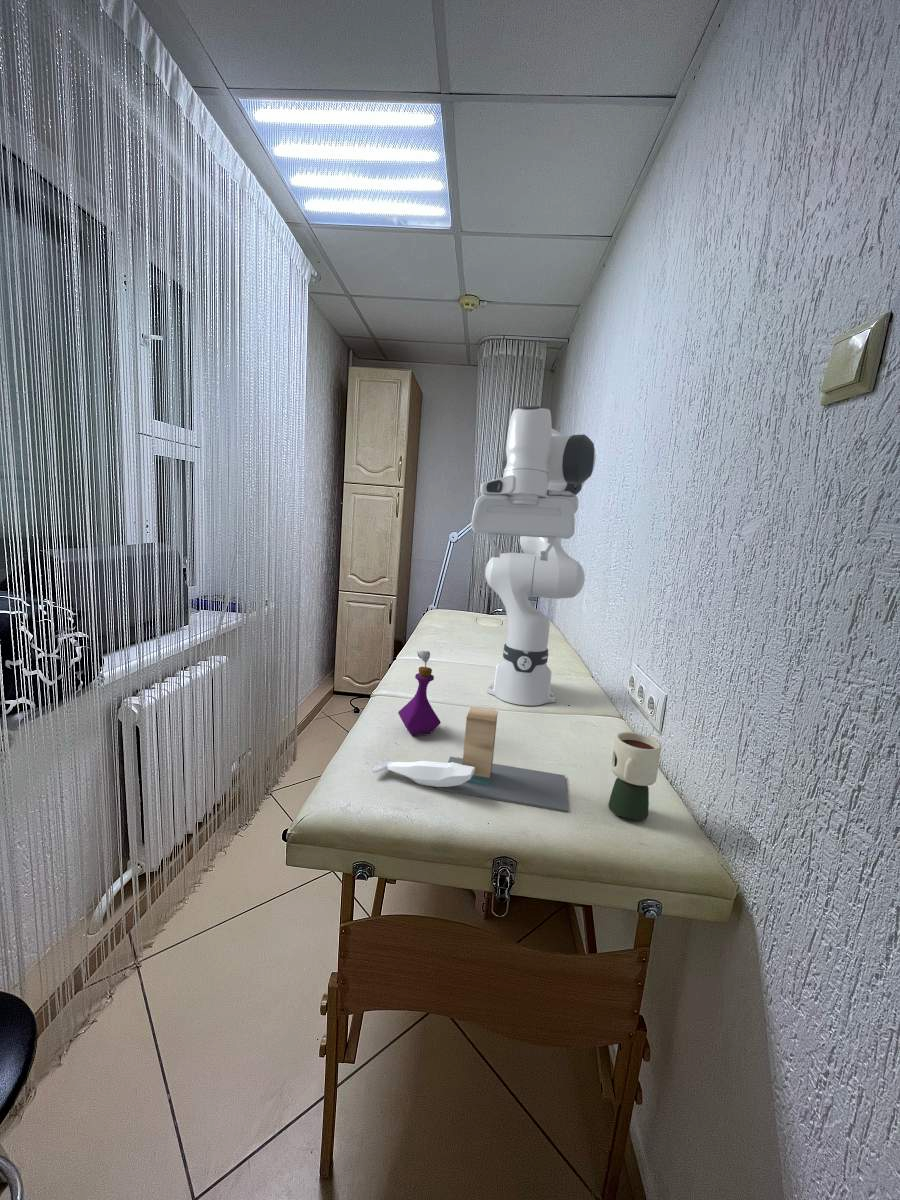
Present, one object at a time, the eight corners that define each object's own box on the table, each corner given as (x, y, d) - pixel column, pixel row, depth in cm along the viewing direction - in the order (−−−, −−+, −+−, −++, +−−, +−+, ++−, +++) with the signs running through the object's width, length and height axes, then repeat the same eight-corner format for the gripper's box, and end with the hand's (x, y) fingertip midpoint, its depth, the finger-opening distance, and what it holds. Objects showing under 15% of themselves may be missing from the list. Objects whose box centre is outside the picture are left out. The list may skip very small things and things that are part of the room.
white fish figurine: (469, 797, 82) (468, 775, 82) (371, 782, 88) (370, 761, 87) (478, 782, 87) (477, 760, 87) (385, 768, 93) (384, 748, 93)
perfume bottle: (440, 737, 107) (446, 656, 104) (406, 740, 104) (412, 657, 101) (428, 723, 114) (434, 646, 111) (396, 725, 111) (402, 647, 108)
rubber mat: (450, 758, 98) (450, 756, 98) (564, 777, 94) (564, 775, 94) (437, 789, 86) (437, 787, 86) (567, 812, 82) (567, 810, 82)
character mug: (614, 792, 90) (624, 724, 88) (656, 807, 86) (667, 736, 84) (596, 819, 81) (606, 744, 79) (642, 837, 77) (654, 758, 75)
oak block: (465, 767, 94) (470, 707, 92) (491, 772, 93) (497, 710, 91) (460, 780, 89) (466, 716, 87) (488, 785, 88) (495, 721, 86)
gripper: (577, 494, 100) (571, 563, 101) (476, 489, 103) (471, 556, 104) (580, 488, 94) (574, 561, 94) (473, 483, 97) (467, 554, 98)
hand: (519, 558), depth 99 cm, fingers open, 8 cm apart
